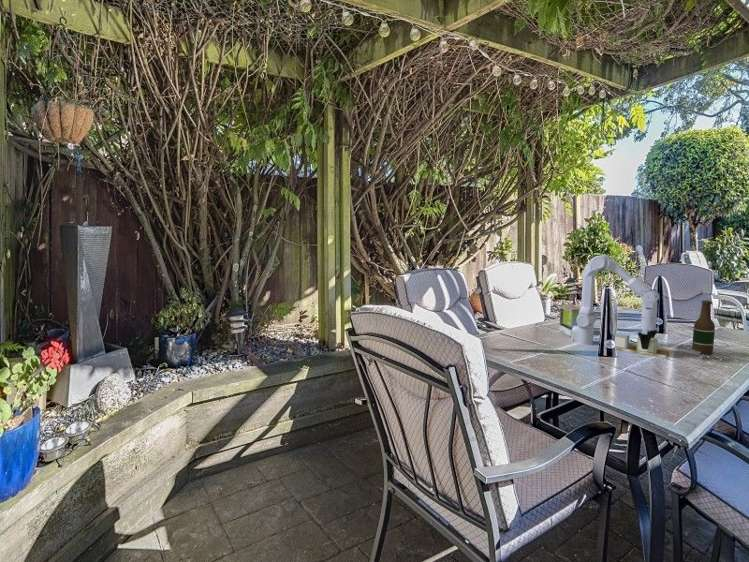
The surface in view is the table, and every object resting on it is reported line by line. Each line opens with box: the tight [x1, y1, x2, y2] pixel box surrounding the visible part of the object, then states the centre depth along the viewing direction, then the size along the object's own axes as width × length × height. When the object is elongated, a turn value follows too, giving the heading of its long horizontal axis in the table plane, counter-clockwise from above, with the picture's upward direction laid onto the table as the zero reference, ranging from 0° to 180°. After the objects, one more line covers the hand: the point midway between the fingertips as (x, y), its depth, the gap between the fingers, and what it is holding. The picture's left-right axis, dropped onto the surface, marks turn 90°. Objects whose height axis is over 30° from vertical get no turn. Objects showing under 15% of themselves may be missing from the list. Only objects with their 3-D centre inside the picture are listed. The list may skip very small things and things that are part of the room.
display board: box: [615, 342, 673, 359], centre depth 206 cm, size 24×18×3 cm
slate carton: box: [615, 332, 631, 349], centre depth 207 cm, size 7×5×6 cm, turn 48°
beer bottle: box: [691, 299, 716, 356], centre depth 203 cm, size 8×8×24 cm
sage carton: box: [636, 336, 659, 354], centre depth 199 cm, size 7×5×6 cm, turn 48°
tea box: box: [559, 304, 581, 337], centre depth 240 cm, size 15×10×15 cm
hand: (646, 347), depth 200 cm, fingers open, 7 cm apart
